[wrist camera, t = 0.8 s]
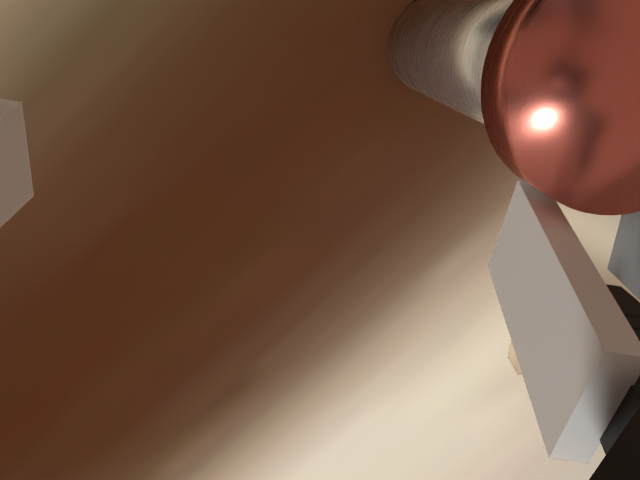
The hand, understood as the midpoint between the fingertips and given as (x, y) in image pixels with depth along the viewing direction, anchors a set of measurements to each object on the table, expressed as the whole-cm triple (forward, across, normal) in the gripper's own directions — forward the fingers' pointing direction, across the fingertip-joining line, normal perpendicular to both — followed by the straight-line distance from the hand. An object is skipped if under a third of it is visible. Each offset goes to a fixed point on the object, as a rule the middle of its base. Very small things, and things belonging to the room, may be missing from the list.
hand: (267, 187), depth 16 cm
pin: (+12, +5, +2) cm, 13 cm away
